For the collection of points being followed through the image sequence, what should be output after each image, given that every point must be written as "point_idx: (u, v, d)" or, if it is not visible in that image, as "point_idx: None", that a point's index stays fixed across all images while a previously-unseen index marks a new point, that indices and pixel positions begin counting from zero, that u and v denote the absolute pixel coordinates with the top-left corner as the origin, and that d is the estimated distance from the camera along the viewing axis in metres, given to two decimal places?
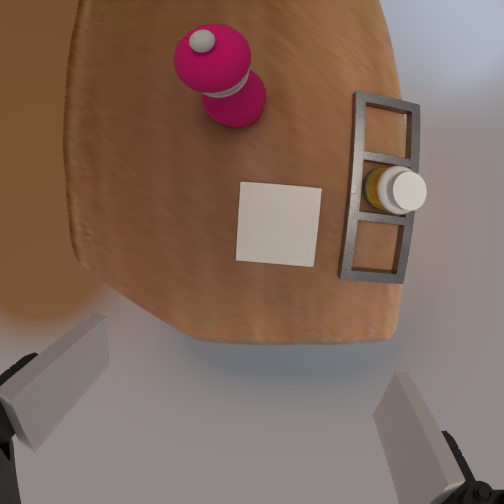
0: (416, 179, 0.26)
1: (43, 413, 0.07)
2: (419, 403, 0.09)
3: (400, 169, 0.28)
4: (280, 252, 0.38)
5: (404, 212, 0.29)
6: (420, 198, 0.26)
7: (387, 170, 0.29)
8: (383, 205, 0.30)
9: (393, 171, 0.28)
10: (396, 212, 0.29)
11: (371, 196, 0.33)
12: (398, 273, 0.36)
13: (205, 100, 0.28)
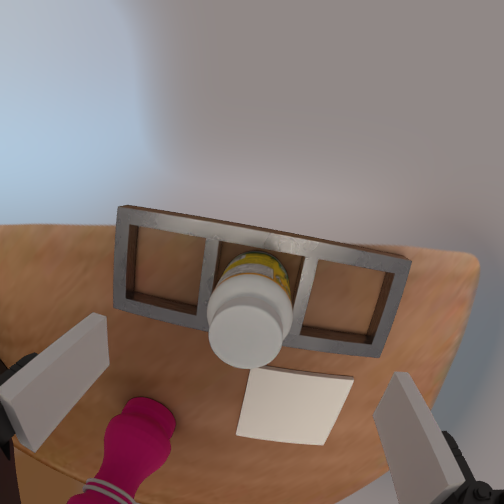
0: (222, 324, 0.15)
1: (43, 413, 0.07)
2: (419, 403, 0.09)
3: (211, 321, 0.18)
4: (325, 411, 0.27)
5: (289, 318, 0.17)
6: (259, 320, 0.15)
7: None
8: None
9: None
10: (287, 331, 0.18)
11: None
12: (393, 270, 0.22)
13: None
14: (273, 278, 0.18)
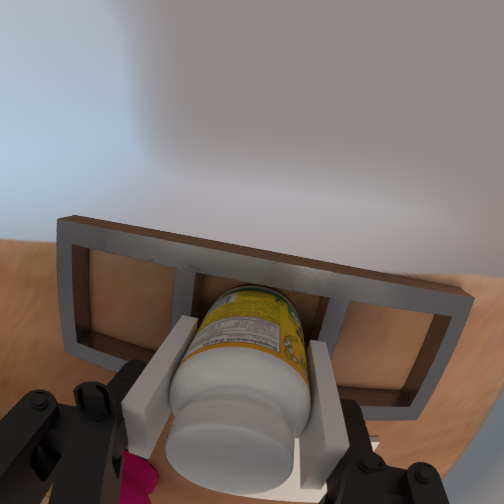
0: (185, 445, 0.07)
1: (158, 417, 0.09)
2: (324, 368, 0.11)
3: (176, 415, 0.10)
4: None
5: (304, 416, 0.09)
6: (252, 447, 0.07)
7: None
8: None
9: None
10: (301, 431, 0.10)
11: None
12: (451, 313, 0.13)
13: None
14: (280, 351, 0.10)
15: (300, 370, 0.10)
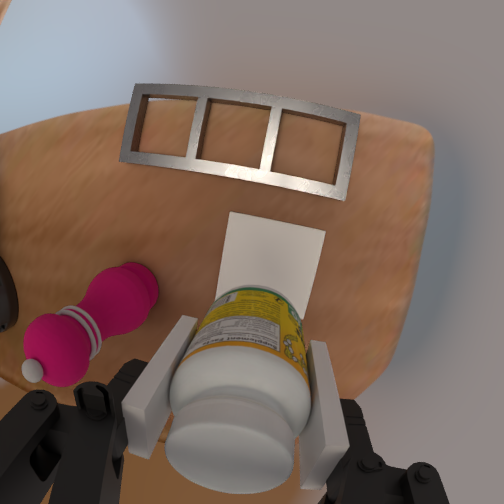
0: (185, 445, 0.07)
1: (158, 418, 0.09)
2: (324, 368, 0.11)
3: (176, 415, 0.10)
4: (302, 269, 0.31)
5: (305, 416, 0.09)
6: (252, 446, 0.07)
7: None
8: None
9: None
10: (301, 430, 0.10)
11: None
12: (345, 120, 0.26)
13: (117, 334, 0.28)
14: (280, 350, 0.10)
15: (300, 369, 0.10)
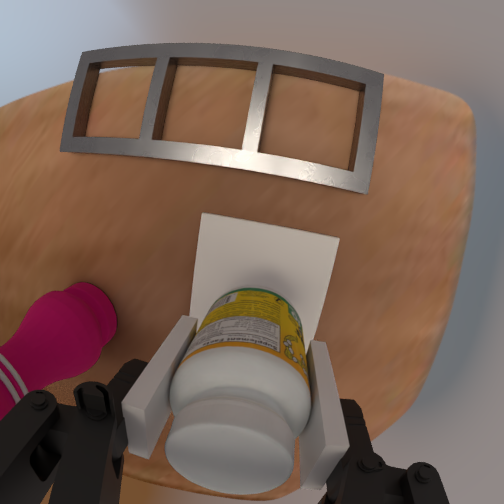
0: (185, 445, 0.07)
1: (158, 418, 0.09)
2: (324, 368, 0.11)
3: (176, 415, 0.10)
4: (306, 292, 0.22)
5: (305, 416, 0.09)
6: (252, 447, 0.07)
7: None
8: None
9: None
10: (301, 431, 0.10)
11: None
12: (363, 81, 0.17)
13: None
14: (280, 351, 0.10)
15: (300, 370, 0.10)
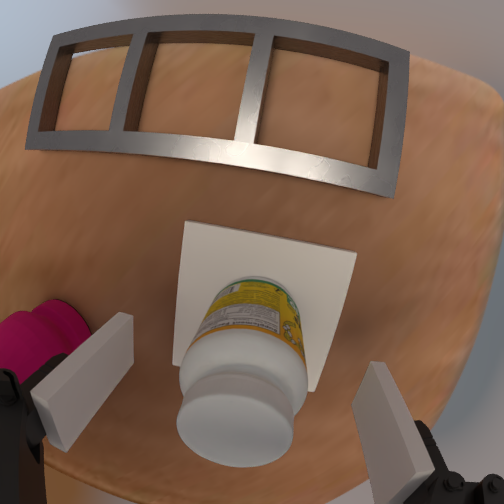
0: (196, 417, 0.08)
1: (75, 412, 0.08)
2: (392, 391, 0.10)
3: (185, 394, 0.11)
4: (314, 319, 0.18)
5: (302, 394, 0.11)
6: (256, 416, 0.08)
7: None
8: None
9: None
10: (299, 408, 0.11)
11: None
12: (386, 58, 0.13)
13: None
14: (280, 333, 0.11)
15: (298, 351, 0.11)
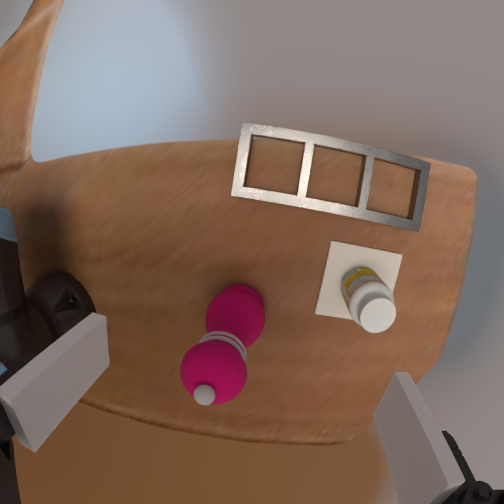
0: (369, 308, 0.28)
1: (43, 413, 0.07)
2: (419, 403, 0.09)
3: (353, 308, 0.30)
4: None
5: None
6: (387, 305, 0.28)
7: (352, 317, 0.31)
8: None
9: (355, 315, 0.31)
10: None
11: None
12: (420, 168, 0.32)
13: None
14: (384, 283, 0.31)
15: None
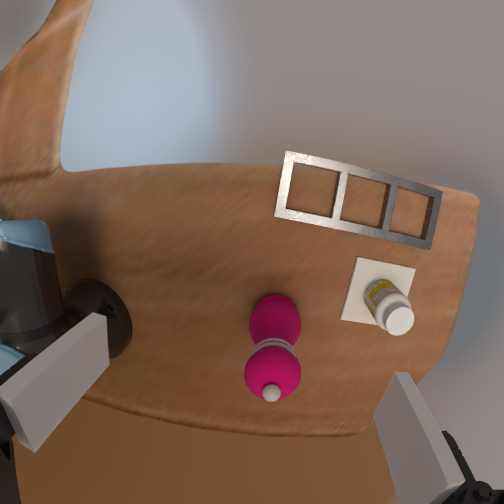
0: (393, 315, 0.33)
1: (43, 413, 0.07)
2: (419, 403, 0.09)
3: (379, 315, 0.35)
4: None
5: None
6: (407, 313, 0.33)
7: (377, 323, 0.36)
8: None
9: (380, 321, 0.36)
10: None
11: None
12: (433, 196, 0.37)
13: None
14: (403, 294, 0.36)
15: None
